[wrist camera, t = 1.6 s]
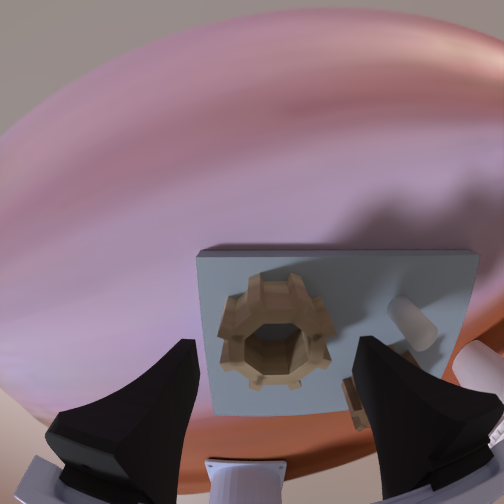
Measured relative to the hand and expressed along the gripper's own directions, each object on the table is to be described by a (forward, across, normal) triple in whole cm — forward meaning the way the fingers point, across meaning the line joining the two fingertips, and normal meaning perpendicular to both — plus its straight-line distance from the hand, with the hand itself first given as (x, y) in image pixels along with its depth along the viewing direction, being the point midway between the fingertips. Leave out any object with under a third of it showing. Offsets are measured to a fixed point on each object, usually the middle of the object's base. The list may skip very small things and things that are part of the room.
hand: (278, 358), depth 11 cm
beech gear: (+4, 0, 0) cm, 4 cm away
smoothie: (+5, -18, +7) cm, 20 cm away
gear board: (+5, -5, +3) cm, 7 cm away
